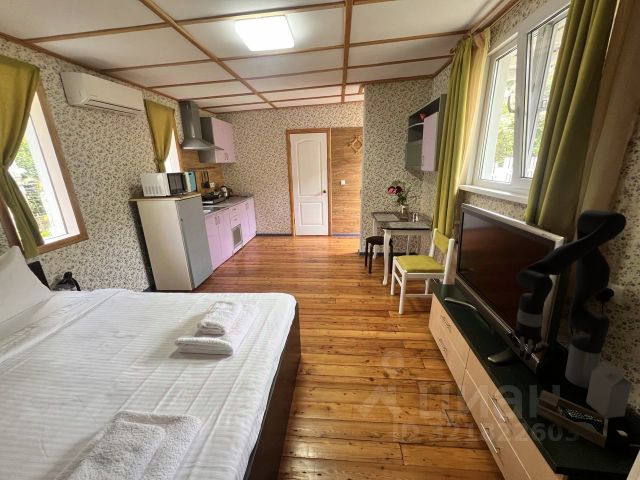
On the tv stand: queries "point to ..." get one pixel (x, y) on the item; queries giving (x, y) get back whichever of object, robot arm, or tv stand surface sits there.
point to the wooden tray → (576, 427)
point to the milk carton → (608, 391)
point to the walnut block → (548, 401)
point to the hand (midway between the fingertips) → (525, 358)
